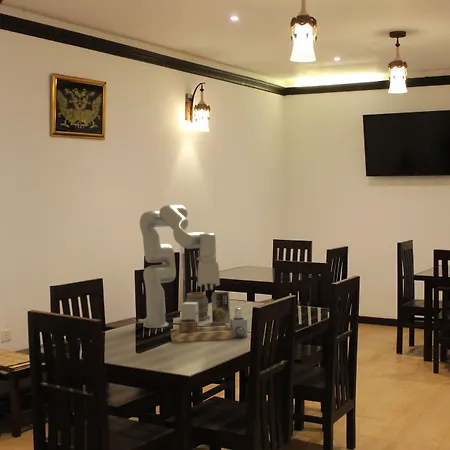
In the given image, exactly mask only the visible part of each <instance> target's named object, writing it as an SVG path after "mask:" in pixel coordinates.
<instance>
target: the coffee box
mask: <svg viewBox="0 0 450 450" xmlns="http://www.w3.org/2000/svg"><path fill="white" fill-rule="evenodd" d="M230 307H231V305H230V291H212V296H211V317H212V324H213V325H215V324H216V325H217V324H218V325H220V324H224V325H226V323H229V324H230V318H231V308H230Z"/></svg>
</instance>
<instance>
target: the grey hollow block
mask: <svg viewBox="0 0 450 450" xmlns="http://www.w3.org/2000/svg"><path fill="white" fill-rule="evenodd" d="M229 324H230V325H231V327H232V336H233V338H241V339H242V338H245V337H246V338H247V337H248V319H247V318H246V317H245V316H242V320H235V317H230V323H229Z"/></svg>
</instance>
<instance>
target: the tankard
mask: <svg viewBox="0 0 450 450" xmlns="http://www.w3.org/2000/svg"><path fill="white" fill-rule="evenodd" d="M185 302H198V317H199V322H202V321H203V322H204V321H207V319H208V320H210V319H211V316H210V315H209V314H208V312H209V299H207V297H206V295H205V290H204V291H203V292H201V291H198V292H196V291H195V292H189V293H186V298H185Z"/></svg>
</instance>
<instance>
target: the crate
mask: <svg viewBox="0 0 450 450" xmlns="http://www.w3.org/2000/svg"><path fill="white" fill-rule="evenodd" d="M198 328H199V326H197V320H196V319H182V318H181V319H178V329H179V333H196V332H198Z"/></svg>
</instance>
